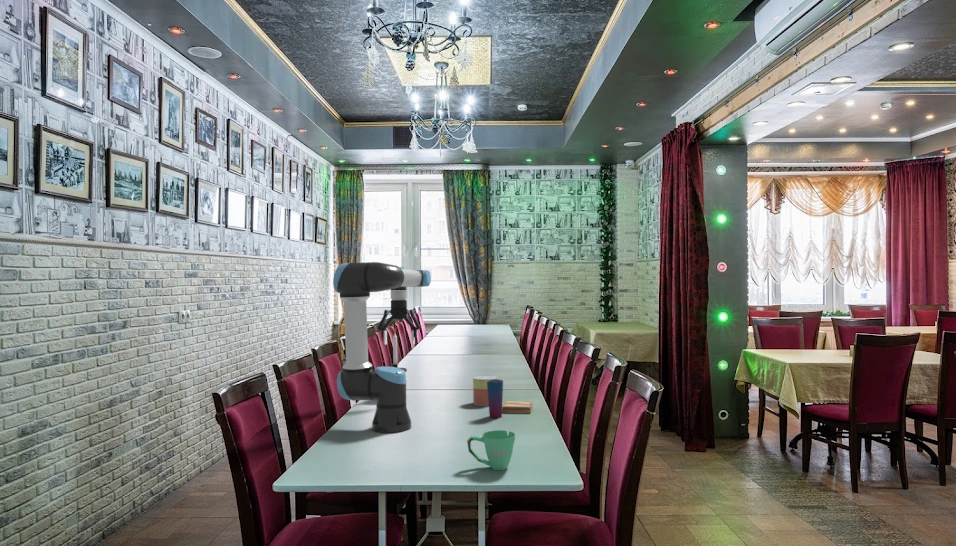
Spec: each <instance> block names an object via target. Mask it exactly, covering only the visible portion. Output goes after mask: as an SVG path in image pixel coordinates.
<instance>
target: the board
mask: <svg viewBox="0 0 956 546" xmlns="http://www.w3.org/2000/svg"><path fill="white" fill-rule="evenodd" d="M532 410H533V401H510V400H509V401H508V400H507V401H504V403H503V404H502V414H531V413H532Z"/></svg>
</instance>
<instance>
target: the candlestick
mask: <svg viewBox="0 0 956 546" xmlns="http://www.w3.org/2000/svg"><path fill="white" fill-rule="evenodd" d="M393 333H394V334H393V336H392V340H393V341H392V350H393V351H392V352H393V355H392V356H393V363H391V365H393V366H392V367H396V368H400V369H402V370H404V371H405V373H406V372H407V370H408V369H407V368H406V367H399V363H398V336H397V334H396V333H397V328H396V327H394V331H393Z"/></svg>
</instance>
